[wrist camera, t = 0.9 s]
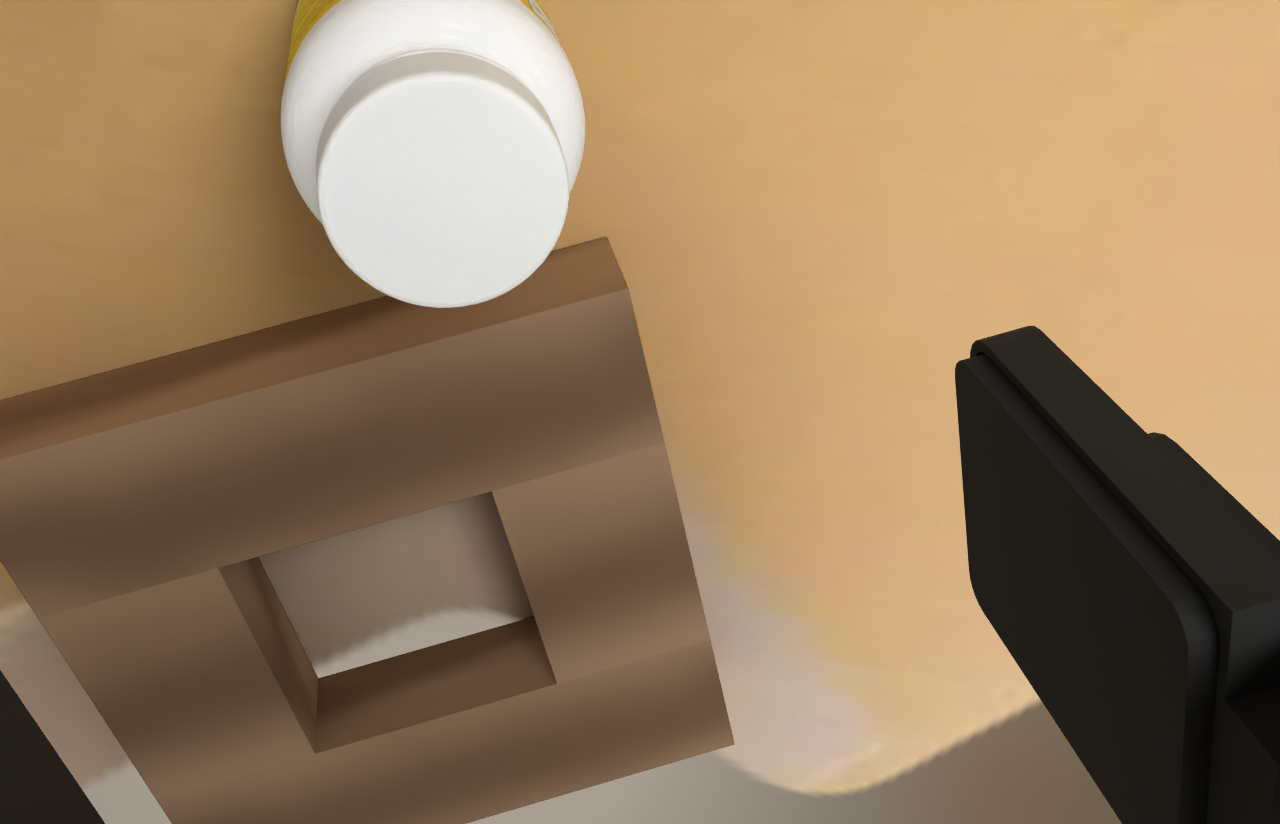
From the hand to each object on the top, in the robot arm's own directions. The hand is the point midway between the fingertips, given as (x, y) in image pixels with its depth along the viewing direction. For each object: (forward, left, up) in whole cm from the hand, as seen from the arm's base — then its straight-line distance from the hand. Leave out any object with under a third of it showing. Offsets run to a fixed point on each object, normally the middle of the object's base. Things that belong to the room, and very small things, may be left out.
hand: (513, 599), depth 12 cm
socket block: (+14, -5, -19) cm, 24 cm away
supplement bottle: (0, 0, -19) cm, 19 cm away
